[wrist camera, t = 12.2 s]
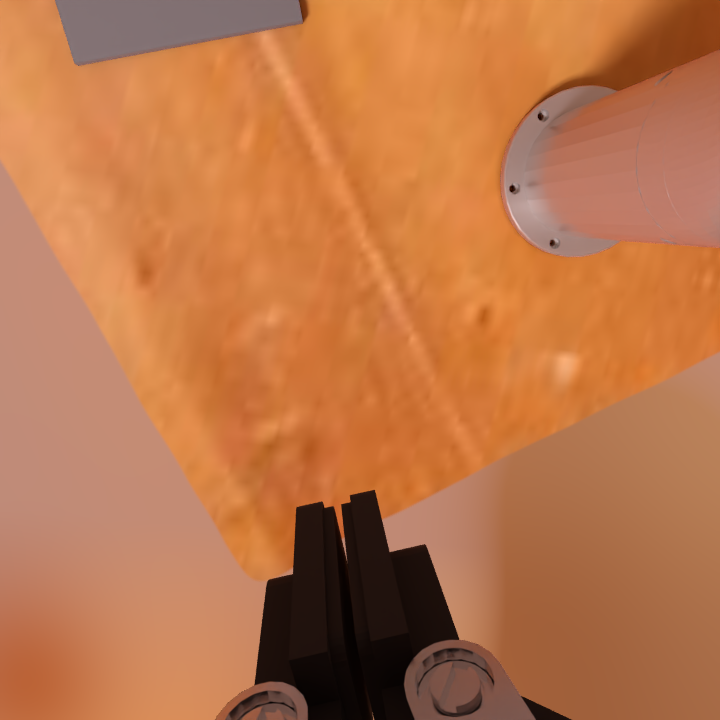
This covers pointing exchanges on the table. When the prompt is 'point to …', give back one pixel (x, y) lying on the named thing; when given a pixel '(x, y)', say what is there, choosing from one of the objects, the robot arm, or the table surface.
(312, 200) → the table surface
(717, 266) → the table surface
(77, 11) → the mat
